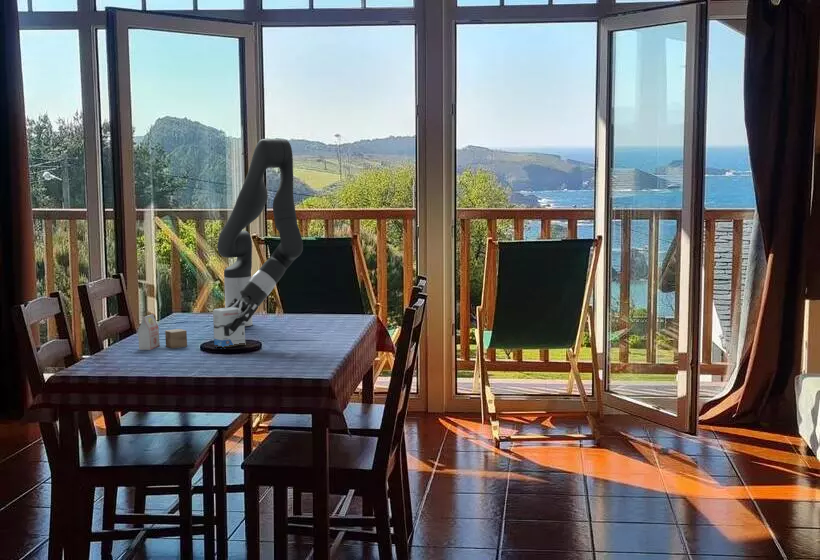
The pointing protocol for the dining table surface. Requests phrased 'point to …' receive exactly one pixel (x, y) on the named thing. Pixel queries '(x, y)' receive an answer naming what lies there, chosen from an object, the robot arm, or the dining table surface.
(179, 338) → the walnut cube
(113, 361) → the dining table surface
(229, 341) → the ink box
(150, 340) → the white carton
